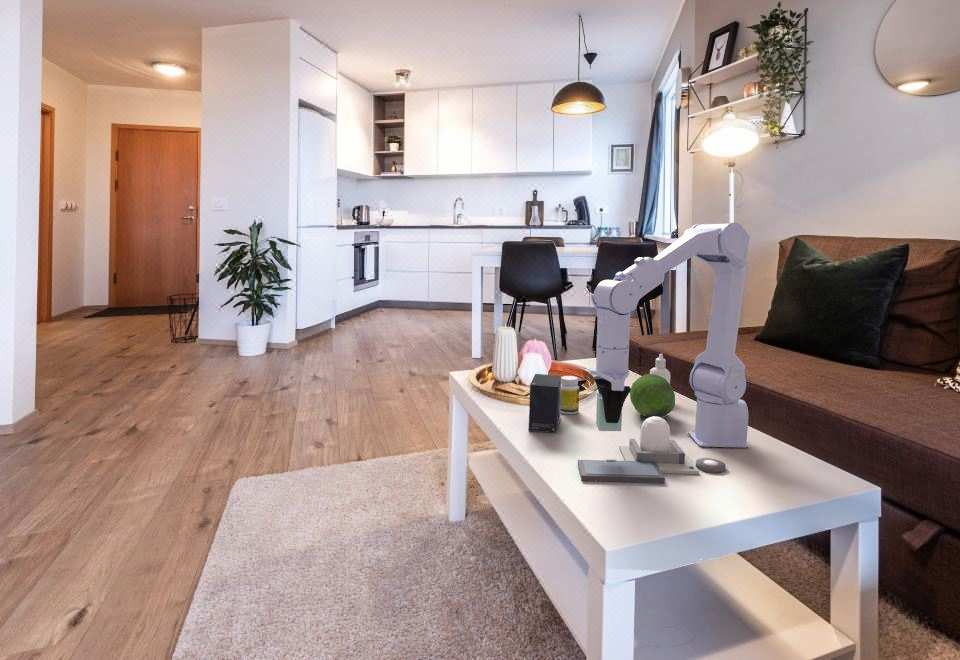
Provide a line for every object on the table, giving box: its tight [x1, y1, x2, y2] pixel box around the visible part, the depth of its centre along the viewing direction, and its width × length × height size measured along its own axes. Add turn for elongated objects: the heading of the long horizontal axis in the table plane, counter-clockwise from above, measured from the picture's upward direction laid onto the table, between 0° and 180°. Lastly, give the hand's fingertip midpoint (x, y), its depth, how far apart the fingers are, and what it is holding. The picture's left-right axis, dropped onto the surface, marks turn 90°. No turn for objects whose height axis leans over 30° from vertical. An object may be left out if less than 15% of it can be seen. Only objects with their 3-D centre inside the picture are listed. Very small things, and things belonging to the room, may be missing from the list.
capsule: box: [639, 416, 671, 452], centre depth 108 cm, size 5×5×8 cm
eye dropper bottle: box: [649, 353, 671, 385], centre depth 146 cm, size 4×6×12 cm
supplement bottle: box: [560, 375, 580, 415], centre depth 136 cm, size 5×5×8 cm
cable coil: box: [695, 457, 727, 474], centre depth 104 cm, size 5×5×1 cm
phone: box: [577, 458, 666, 484], centre depth 101 cm, size 14×7×1 cm, turn 86°
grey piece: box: [618, 438, 700, 475], centre depth 107 cm, size 12×12×2 cm
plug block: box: [595, 392, 623, 432], centre depth 105 cm, size 4×4×7 cm
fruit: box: [629, 373, 676, 419], centre depth 134 cm, size 15×10×10 cm, turn 172°
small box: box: [528, 373, 562, 434], centre depth 127 cm, size 11×6×10 cm, turn 168°
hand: (610, 418), depth 106 cm, fingers closed on plug block, 4 cm apart
